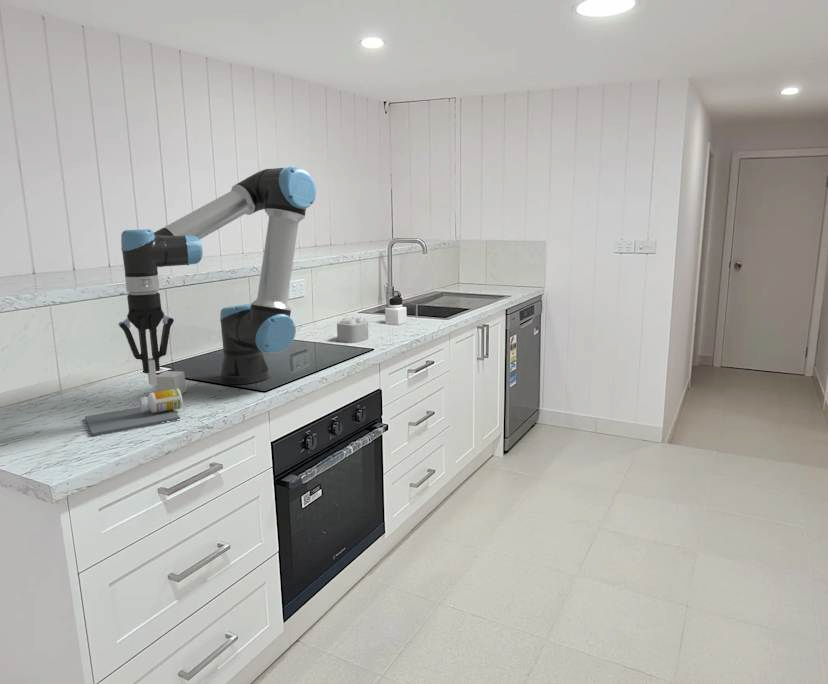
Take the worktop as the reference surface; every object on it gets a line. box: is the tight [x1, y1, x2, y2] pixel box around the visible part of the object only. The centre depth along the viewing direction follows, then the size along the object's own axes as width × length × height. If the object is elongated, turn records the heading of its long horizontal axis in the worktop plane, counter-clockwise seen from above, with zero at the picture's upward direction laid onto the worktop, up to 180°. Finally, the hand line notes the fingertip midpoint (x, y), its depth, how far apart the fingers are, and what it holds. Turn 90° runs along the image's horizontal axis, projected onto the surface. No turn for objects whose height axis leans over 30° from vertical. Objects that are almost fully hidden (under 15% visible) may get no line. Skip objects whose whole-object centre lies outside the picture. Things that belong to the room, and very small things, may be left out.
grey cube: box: [154, 370, 187, 395], centre depth 182 cm, size 6×6×6 cm
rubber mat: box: [84, 406, 181, 437], centre depth 161 cm, size 20×15×1 cm
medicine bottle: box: [384, 296, 408, 326], centre depth 284 cm, size 7×7×12 cm
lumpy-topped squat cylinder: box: [336, 316, 369, 344], centre depth 252 cm, size 10×13×9 cm
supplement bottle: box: [138, 389, 183, 413], centre depth 164 cm, size 5×5×10 cm
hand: (153, 383), depth 162 cm, fingers closed
